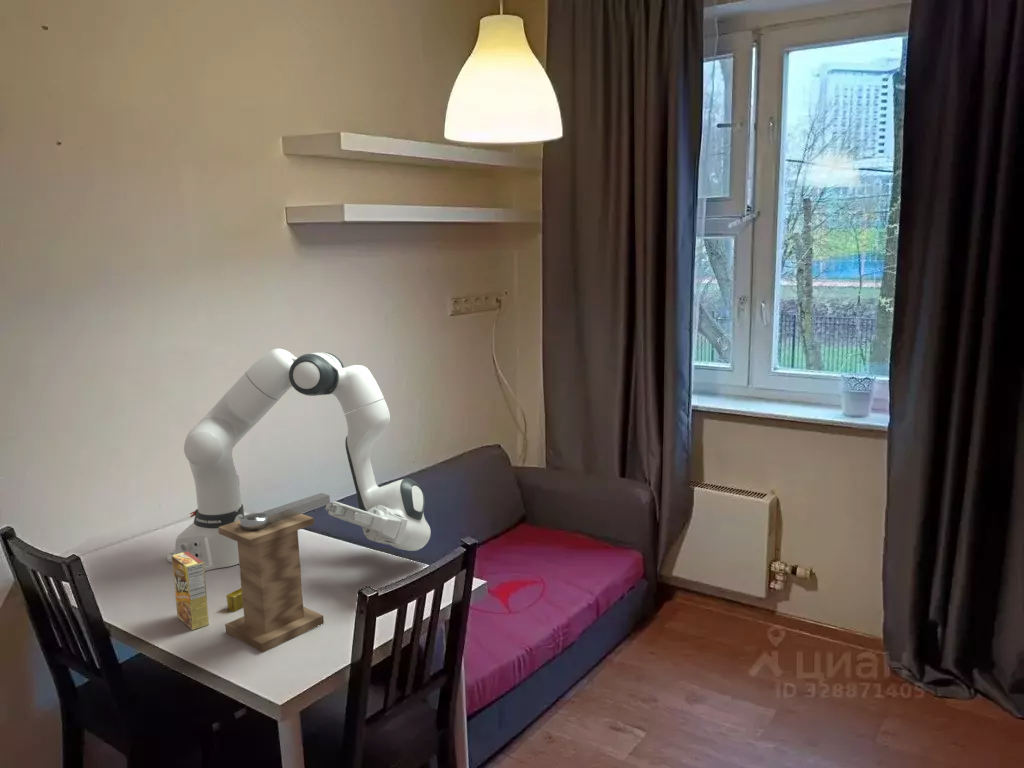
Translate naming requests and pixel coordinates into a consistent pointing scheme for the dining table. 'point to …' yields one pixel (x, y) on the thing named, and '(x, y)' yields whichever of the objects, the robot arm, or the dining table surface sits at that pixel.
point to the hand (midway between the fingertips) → (340, 511)
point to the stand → (271, 584)
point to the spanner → (282, 512)
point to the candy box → (190, 590)
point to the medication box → (235, 600)
